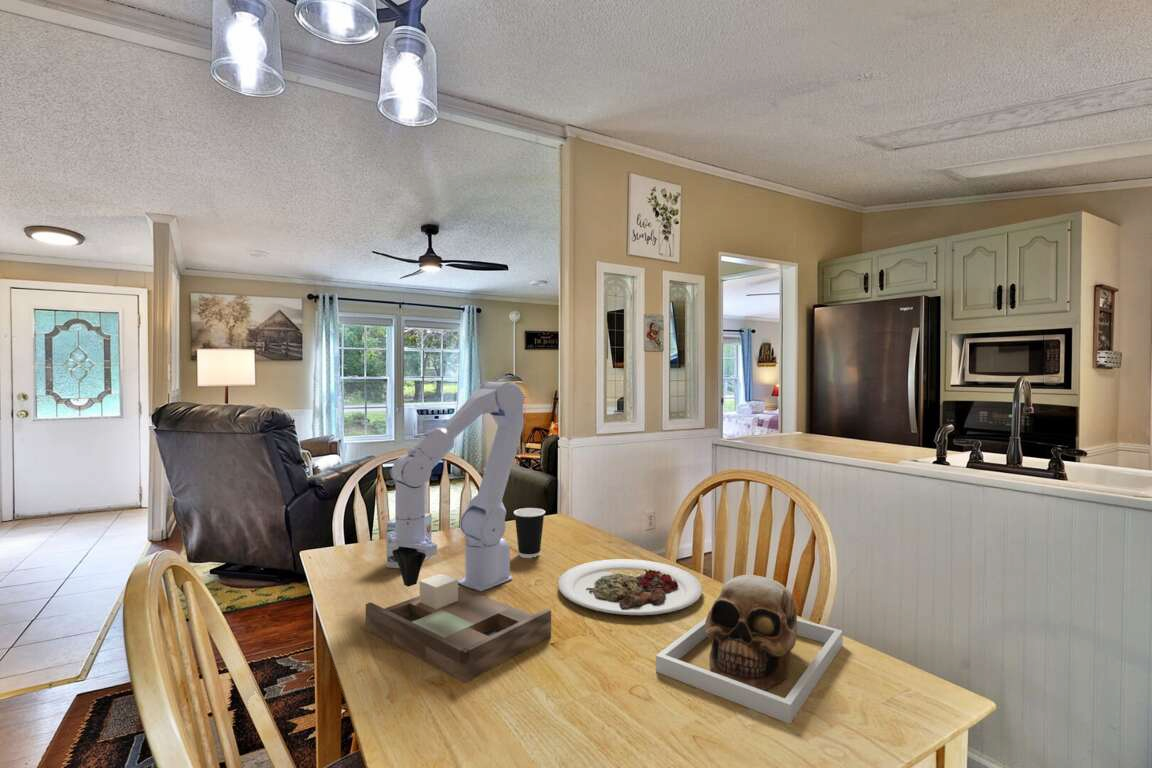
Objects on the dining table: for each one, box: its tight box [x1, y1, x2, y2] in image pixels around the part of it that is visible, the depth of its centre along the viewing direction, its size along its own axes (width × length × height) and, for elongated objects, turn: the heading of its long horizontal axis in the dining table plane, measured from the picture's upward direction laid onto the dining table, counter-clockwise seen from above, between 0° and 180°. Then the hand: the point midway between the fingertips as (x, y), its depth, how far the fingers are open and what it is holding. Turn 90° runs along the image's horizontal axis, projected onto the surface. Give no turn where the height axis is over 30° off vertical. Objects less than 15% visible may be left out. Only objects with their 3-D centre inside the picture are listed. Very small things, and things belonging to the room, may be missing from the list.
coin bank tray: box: [655, 616, 843, 725], centre depth 88 cm, size 27×20×2 cm
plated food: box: [557, 558, 703, 616], centre depth 116 cm, size 30×30×3 cm
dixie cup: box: [513, 507, 546, 559], centre depth 138 cm, size 8×8×11 cm
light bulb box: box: [385, 512, 433, 569], centre depth 133 cm, size 11×7×11 cm, turn 168°
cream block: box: [419, 573, 459, 609], centre depth 103 cm, size 5×5×4 cm
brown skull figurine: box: [705, 574, 798, 691], centre depth 87 cm, size 16×18×14 cm
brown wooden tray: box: [365, 586, 552, 684], centre depth 96 cm, size 19×27×4 cm
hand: (410, 584), depth 109 cm, fingers closed
